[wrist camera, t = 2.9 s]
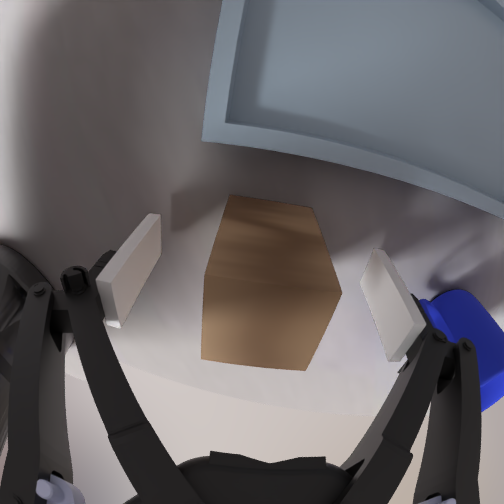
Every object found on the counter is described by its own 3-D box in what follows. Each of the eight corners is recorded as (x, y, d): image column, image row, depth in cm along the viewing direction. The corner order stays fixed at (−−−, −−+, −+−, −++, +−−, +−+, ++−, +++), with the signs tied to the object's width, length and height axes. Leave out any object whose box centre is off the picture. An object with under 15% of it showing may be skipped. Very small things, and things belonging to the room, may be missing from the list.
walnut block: (221, 263, 19) (200, 359, 12) (229, 194, 16) (204, 274, 10) (293, 274, 19) (305, 370, 12) (311, 207, 17) (342, 293, 10)
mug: (431, 238, 17) (506, 337, 9) (485, 297, 20) (531, 371, 12) (360, 313, 21) (393, 424, 13) (430, 350, 24) (460, 427, 15)
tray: (210, 134, 15) (201, 141, 12) (252, -84, 6) (251, -104, 4) (507, 215, 16) (525, 229, 13) (538, 53, 7) (557, 56, 5)
